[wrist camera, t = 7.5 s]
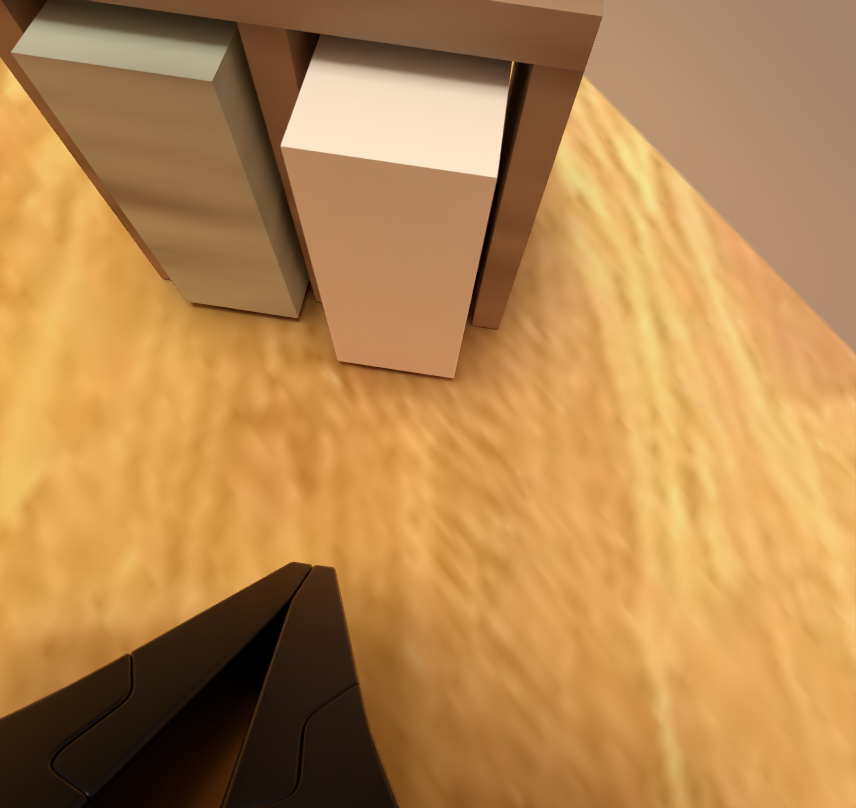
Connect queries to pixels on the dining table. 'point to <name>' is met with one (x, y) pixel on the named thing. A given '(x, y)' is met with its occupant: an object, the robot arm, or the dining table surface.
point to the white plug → (396, 193)
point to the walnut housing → (271, 120)
